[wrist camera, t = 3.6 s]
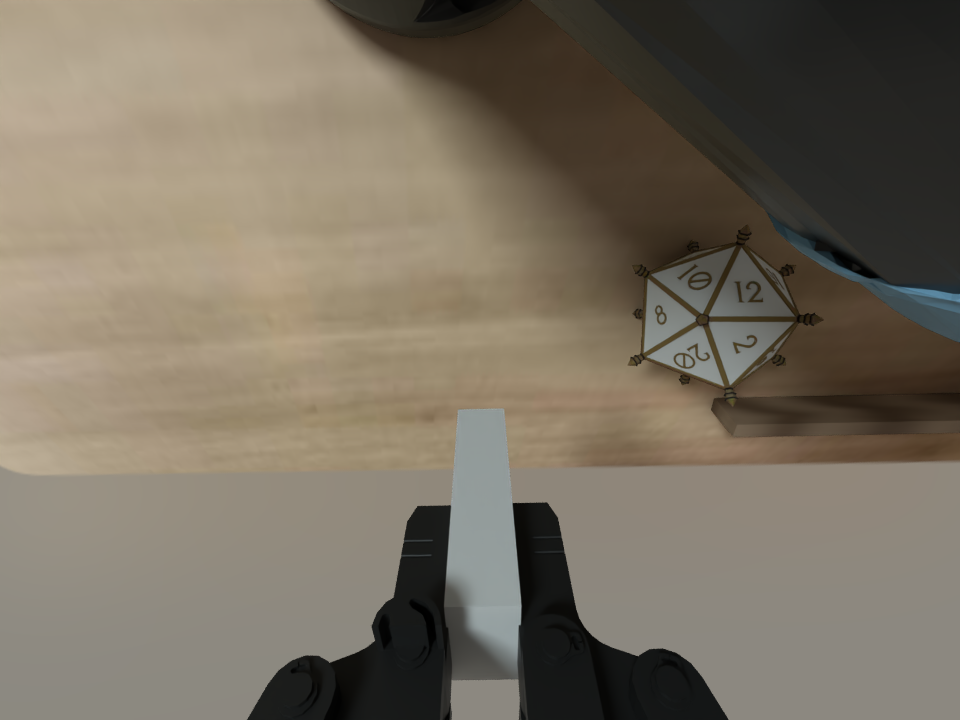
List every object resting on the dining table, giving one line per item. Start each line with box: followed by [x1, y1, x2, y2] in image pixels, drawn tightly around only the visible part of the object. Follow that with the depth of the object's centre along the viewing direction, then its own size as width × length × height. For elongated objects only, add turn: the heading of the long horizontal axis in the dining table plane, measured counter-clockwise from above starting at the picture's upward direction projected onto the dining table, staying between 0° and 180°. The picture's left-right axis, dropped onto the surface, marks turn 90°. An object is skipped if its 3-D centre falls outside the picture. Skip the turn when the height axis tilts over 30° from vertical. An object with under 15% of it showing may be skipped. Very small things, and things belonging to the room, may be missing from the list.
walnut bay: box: [711, 393, 960, 437], centre depth 25 cm, size 19×18×3 cm
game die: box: [628, 225, 823, 407], centre depth 23 cm, size 9×8×10 cm
